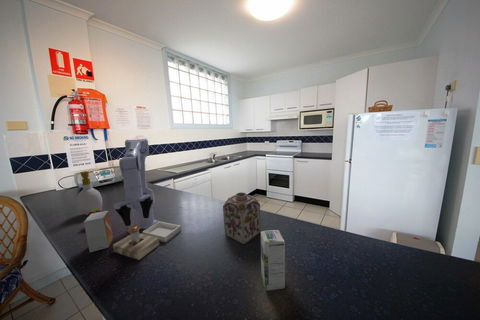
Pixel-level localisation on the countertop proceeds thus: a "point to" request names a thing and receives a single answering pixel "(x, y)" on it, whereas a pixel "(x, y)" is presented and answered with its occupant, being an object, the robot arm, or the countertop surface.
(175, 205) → the countertop surface
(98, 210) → the strawberry
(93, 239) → the small box
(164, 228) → the tray
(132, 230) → the pin
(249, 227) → the decorative jar
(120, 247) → the hitch block
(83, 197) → the soap bottle
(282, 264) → the syrup box
